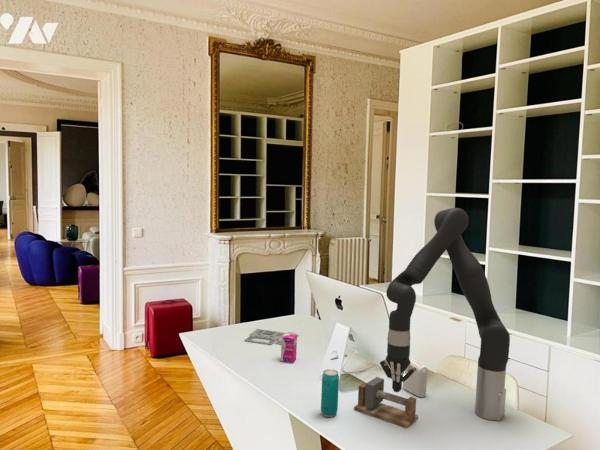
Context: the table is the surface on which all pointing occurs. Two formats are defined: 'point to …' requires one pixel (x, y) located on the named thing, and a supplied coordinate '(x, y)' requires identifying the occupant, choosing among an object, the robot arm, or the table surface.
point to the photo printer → (416, 379)
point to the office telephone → (267, 336)
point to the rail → (389, 408)
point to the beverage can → (329, 393)
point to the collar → (373, 392)
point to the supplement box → (288, 348)
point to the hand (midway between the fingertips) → (396, 391)
